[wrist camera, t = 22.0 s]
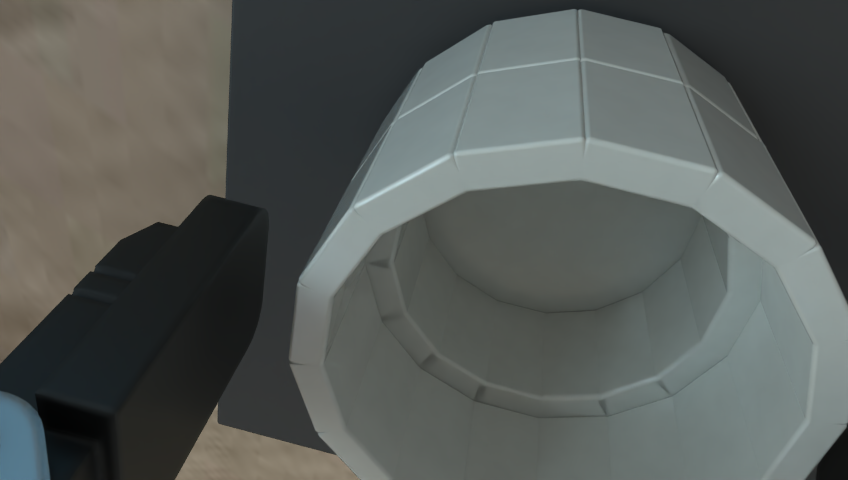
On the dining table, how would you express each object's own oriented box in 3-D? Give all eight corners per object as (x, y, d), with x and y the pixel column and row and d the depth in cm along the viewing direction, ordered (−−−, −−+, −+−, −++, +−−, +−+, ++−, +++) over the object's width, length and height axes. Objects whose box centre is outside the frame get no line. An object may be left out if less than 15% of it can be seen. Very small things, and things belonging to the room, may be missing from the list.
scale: (247, 374, 19) (191, 479, 16) (290, -260, 11) (194, -275, 8) (828, 527, 19) (876, 664, 16) (1309, -23, 11) (1588, 50, 8)
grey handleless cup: (357, 282, 14) (272, 489, 10) (414, -41, 11) (318, 71, 6) (665, 361, 14) (708, 606, 10) (826, 58, 10) (1000, 240, 6)
